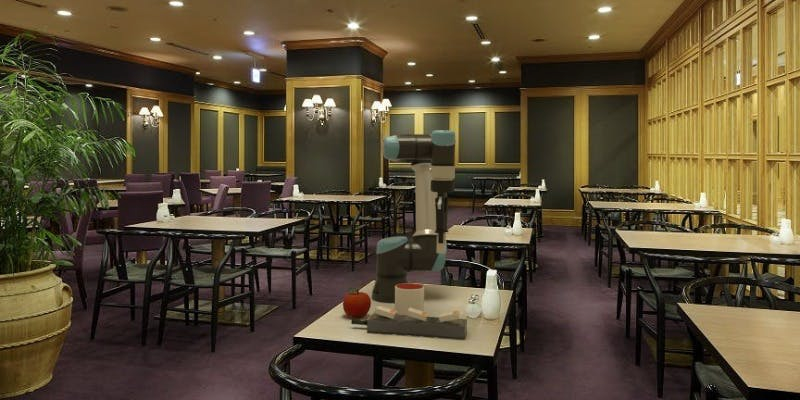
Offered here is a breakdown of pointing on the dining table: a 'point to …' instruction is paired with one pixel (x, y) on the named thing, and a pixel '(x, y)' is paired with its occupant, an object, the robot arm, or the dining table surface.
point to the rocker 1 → (385, 312)
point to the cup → (408, 297)
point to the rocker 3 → (449, 316)
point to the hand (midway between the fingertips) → (441, 252)
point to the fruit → (356, 304)
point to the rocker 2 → (417, 314)
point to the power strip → (415, 326)
